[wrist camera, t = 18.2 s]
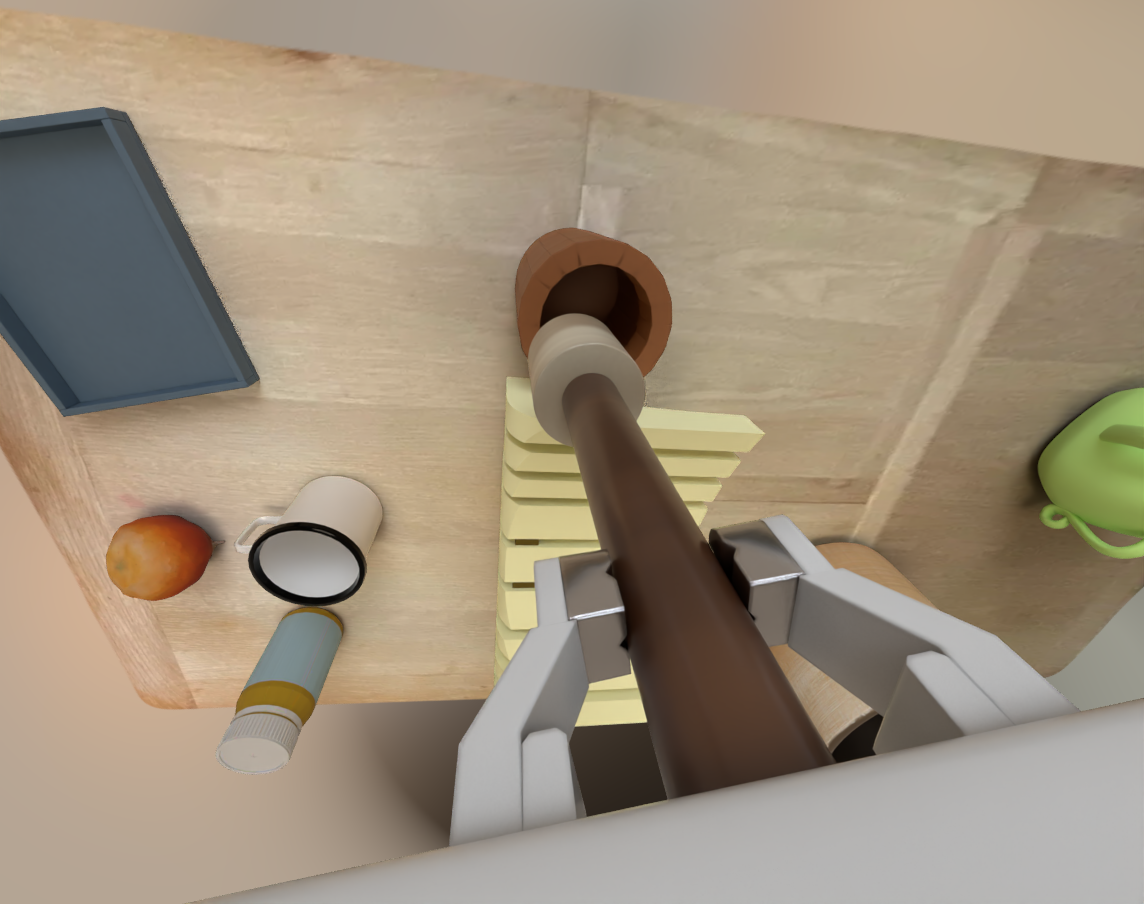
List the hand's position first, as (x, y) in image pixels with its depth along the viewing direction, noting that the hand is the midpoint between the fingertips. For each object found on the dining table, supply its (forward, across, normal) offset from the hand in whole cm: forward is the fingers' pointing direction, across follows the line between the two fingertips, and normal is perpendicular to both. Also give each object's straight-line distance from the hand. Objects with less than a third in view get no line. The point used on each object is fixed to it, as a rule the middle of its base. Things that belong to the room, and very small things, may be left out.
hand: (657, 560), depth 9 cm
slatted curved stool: (+34, 0, +20) cm, 40 cm away
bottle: (+34, +34, +34) cm, 59 cm away
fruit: (+34, +41, +18) cm, 56 cm away
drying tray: (+34, +34, -6) cm, 48 cm away
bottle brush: (+14, 0, 0) cm, 14 cm away
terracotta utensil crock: (+34, -2, 0) cm, 34 cm away
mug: (+34, +26, +18) cm, 47 cm away
